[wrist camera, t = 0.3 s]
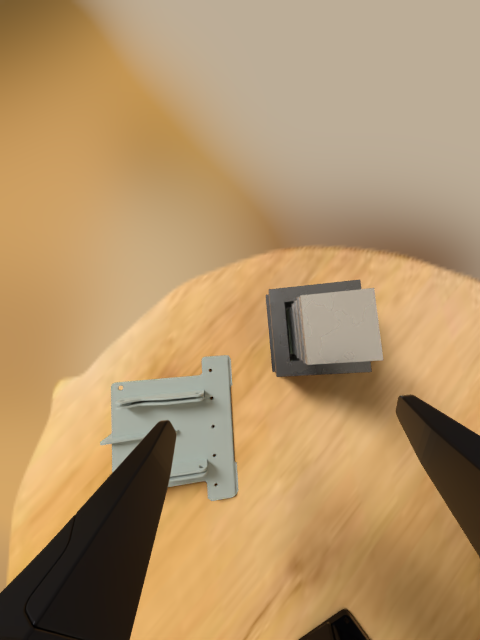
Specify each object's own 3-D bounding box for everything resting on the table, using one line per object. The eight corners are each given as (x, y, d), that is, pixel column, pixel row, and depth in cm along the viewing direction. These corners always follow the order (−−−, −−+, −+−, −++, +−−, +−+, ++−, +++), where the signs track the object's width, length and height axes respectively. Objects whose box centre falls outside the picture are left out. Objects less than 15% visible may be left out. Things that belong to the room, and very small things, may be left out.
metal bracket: (93, 536, 19) (92, 367, 20) (120, 489, 24) (118, 360, 26) (250, 506, 21) (241, 355, 22) (241, 470, 27) (234, 352, 28)
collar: (351, 364, 22) (379, 375, 16) (272, 369, 23) (273, 380, 17) (342, 289, 22) (366, 275, 17) (265, 297, 23) (264, 286, 18)
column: (334, 349, 20) (386, 362, 11) (289, 352, 21) (305, 367, 12) (329, 305, 21) (376, 285, 12) (285, 310, 21) (297, 293, 12)
